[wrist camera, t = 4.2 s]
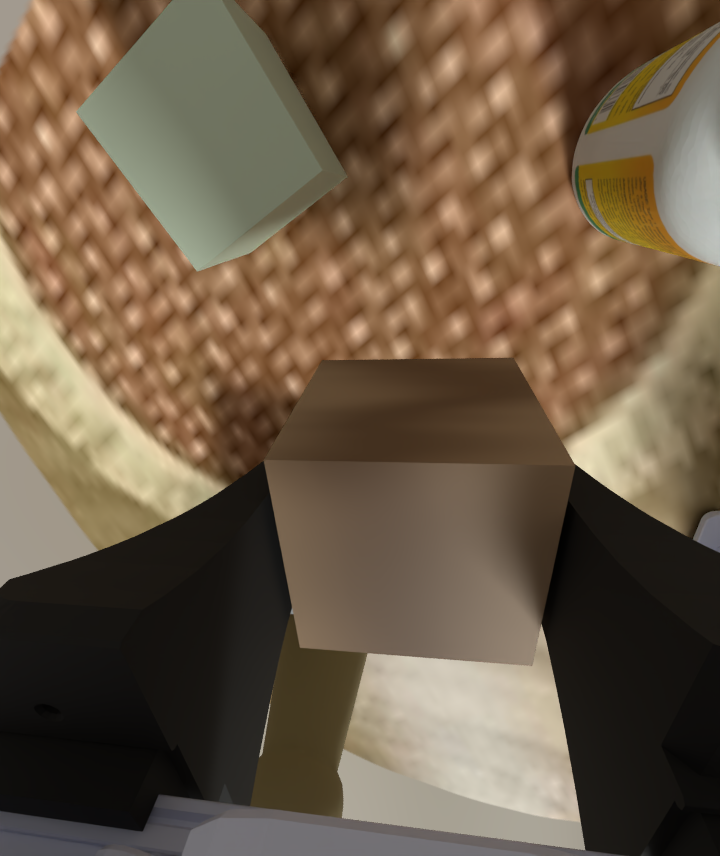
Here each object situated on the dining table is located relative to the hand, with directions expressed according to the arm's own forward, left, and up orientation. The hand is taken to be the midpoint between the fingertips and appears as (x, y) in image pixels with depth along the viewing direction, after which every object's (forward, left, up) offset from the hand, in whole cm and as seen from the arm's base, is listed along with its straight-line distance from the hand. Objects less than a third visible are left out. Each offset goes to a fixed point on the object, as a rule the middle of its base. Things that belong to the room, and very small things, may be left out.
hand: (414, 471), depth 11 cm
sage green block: (+6, -8, -9) cm, 14 cm away
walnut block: (0, 0, -2) cm, 2 cm away
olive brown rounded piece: (+6, +20, -9) cm, 23 cm away
